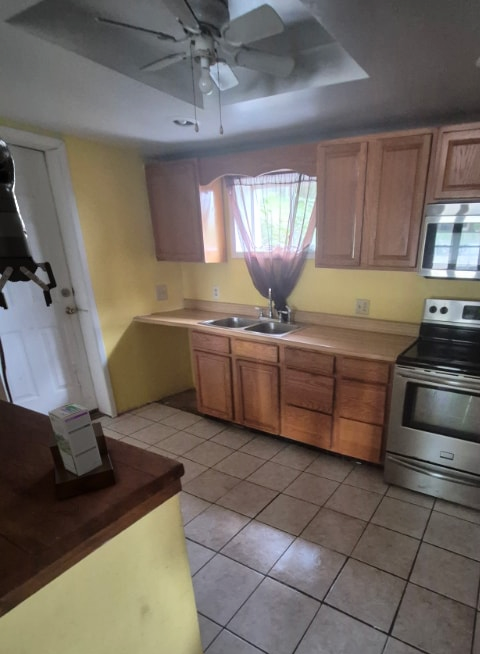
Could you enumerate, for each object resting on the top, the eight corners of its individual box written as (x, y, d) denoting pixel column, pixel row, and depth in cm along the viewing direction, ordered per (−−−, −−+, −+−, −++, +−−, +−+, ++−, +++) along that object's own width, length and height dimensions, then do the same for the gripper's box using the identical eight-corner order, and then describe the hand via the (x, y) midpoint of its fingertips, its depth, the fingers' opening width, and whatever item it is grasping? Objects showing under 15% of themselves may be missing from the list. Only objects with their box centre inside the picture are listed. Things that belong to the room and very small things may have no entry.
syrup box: (103, 464, 85) (89, 407, 79) (78, 477, 80) (61, 417, 75) (88, 457, 88) (74, 401, 82) (63, 469, 83) (46, 411, 77)
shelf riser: (60, 499, 80) (49, 464, 76) (58, 464, 92) (49, 432, 88) (116, 483, 85) (108, 449, 81) (107, 452, 97) (100, 421, 94)
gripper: (44, 235, 90) (61, 303, 97) (-31, 234, 83) (-8, 307, 90) (44, 235, 84) (62, 307, 91) (-37, 234, 77) (-11, 312, 84)
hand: (27, 307), depth 90 cm, fingers open, 8 cm apart
